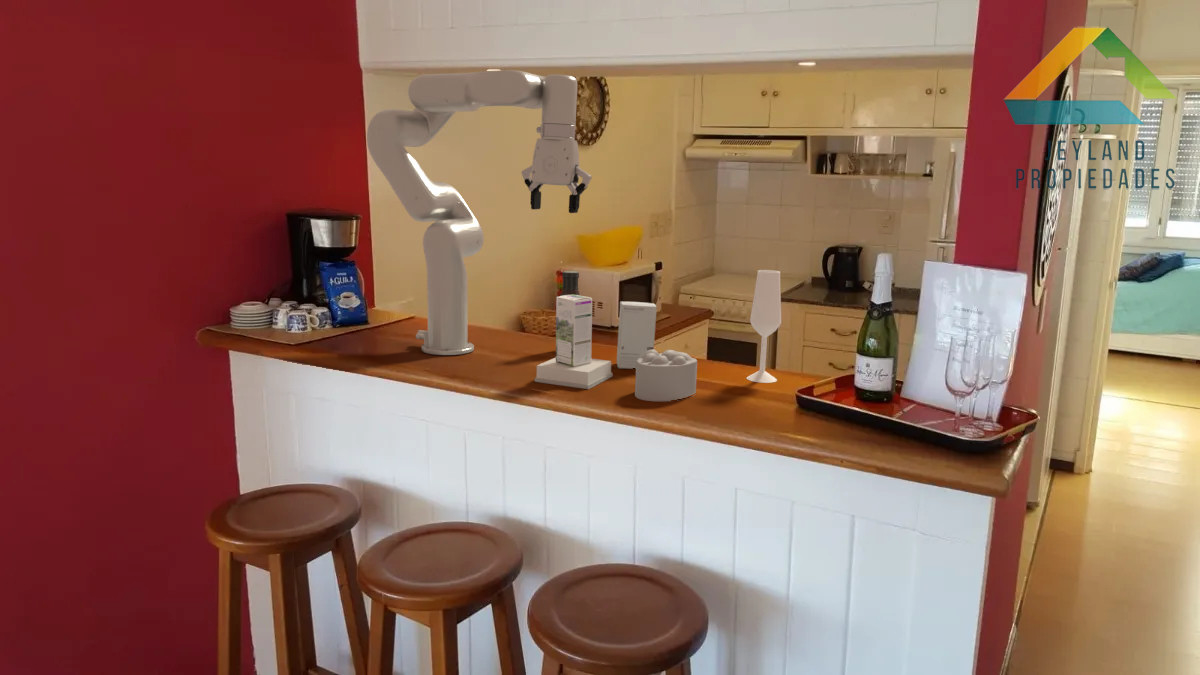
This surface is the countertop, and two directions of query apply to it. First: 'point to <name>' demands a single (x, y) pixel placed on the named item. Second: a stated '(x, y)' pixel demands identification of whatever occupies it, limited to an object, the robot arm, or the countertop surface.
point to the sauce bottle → (570, 283)
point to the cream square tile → (574, 373)
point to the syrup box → (573, 330)
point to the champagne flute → (765, 316)
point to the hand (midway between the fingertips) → (554, 210)
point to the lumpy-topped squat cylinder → (665, 376)
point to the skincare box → (635, 332)
